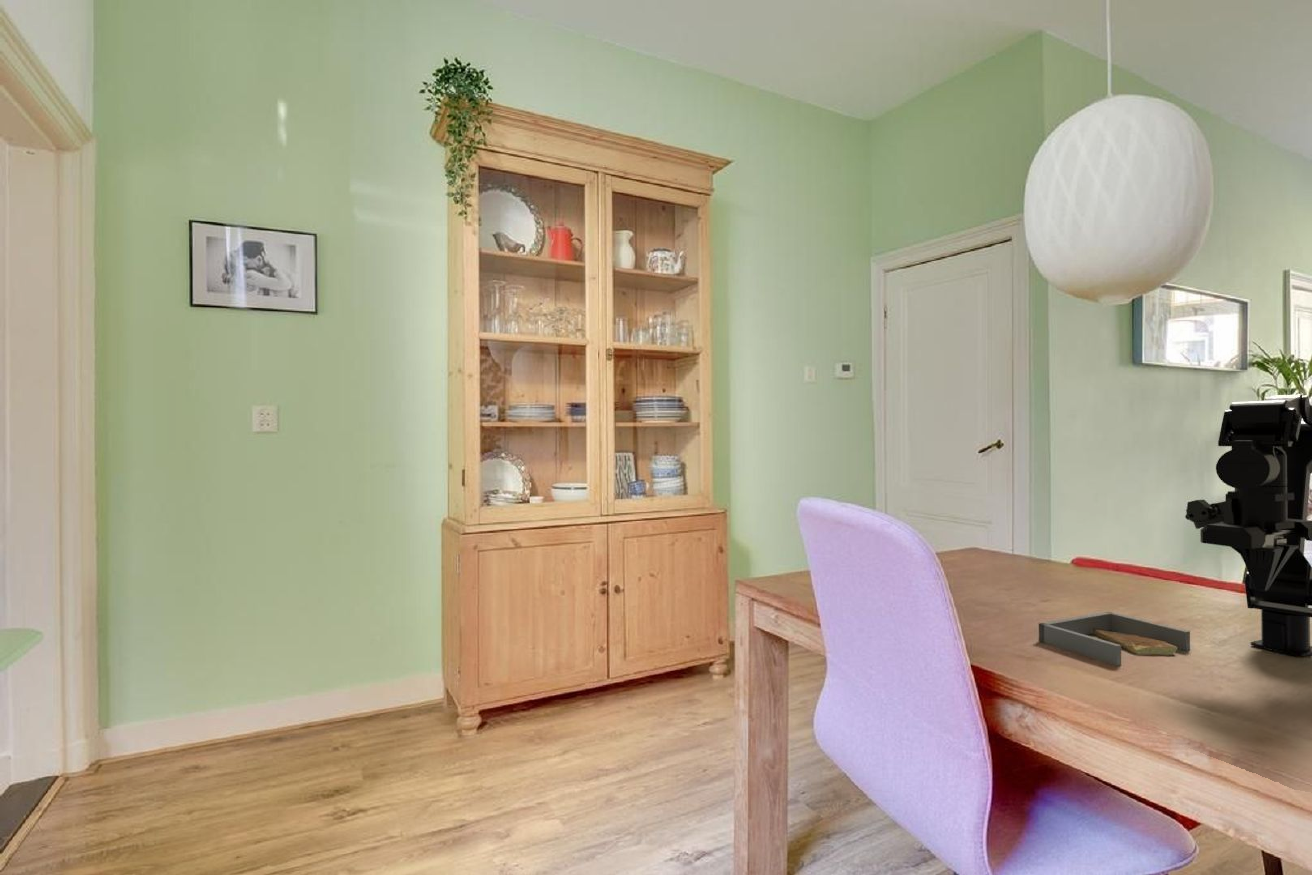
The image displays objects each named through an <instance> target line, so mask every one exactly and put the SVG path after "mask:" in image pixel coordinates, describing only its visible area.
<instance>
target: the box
mask: <svg viewBox="0 0 1312 875" xmlns="http://www.w3.org/2000/svg"><path fill="white" fill-rule="evenodd" d="M1093 629H1098V630H1105V631H1111V632H1118V633H1125V634H1131V635H1137V636H1142V637H1147V638H1153V639H1157V640H1162V641H1165V642H1166V643H1168V644H1171V645H1173V646H1176V647H1177V649H1180V650H1183V651H1190V650H1191V631H1190V630H1186V629H1181V628H1178V627H1174V626H1169V625H1164V624H1161V623H1157V622H1152V621H1148V620H1145V619H1140V618H1136V617H1132V616H1129V615H1124V614H1119V613H1115V612H1111V611H1106V612H1105V611H1104V612H1100V613H1099V612H1098V613H1093V614H1087V615H1081V616H1074V617H1068V618H1064V619H1059V620H1058V619H1056V620H1052V621H1051V620H1050V621H1046V622H1041V623H1040V622H1039V623H1038V641H1039V642H1041V643H1044V644H1047V645H1050V646H1053V647H1057V648H1061V649H1063V650H1067V651H1070V652H1072V653H1075V654H1079V655H1081V656H1085V657H1088V658H1092V659H1094V660H1098V661H1101V662H1105V663H1107V664H1110V665H1114V666H1121V665H1122V646H1121V645H1119V644H1115V643H1113V642H1111V641H1109V640H1106V639H1100V638H1097V637H1093V636H1090V635H1093V634H1096V633H1095V631H1094V630H1093Z"/></svg>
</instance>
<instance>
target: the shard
mask: <svg viewBox="0 0 1312 875" xmlns="http://www.w3.org/2000/svg"><path fill="white" fill-rule="evenodd" d="M1093 630H1094V631H1095V633H1094V634H1095V636H1098V637H1100V638H1102V639H1103V640H1105V641H1108V642H1112V643H1115V644H1119V645H1121V648H1124V649H1125V650H1128V651H1129V652H1131V653H1132V654H1135V655H1137V656H1139V655H1141V656H1143V655H1161V656H1162V655H1166V656H1167V655H1168V656H1169V655H1170V656H1172V655H1174V654H1175V653H1176V652H1177V650H1178V648H1177V647H1176V646H1173V645H1171V644H1168V643H1166V642H1165V641H1162V640H1157V639H1153V638H1147V637H1142V636H1137V635H1131V634H1125V633H1119V632H1115V631H1112V630H1110V631H1105V630H1098V629H1093Z"/></svg>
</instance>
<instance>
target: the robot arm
mask: <svg viewBox="0 0 1312 875" xmlns="http://www.w3.org/2000/svg"><path fill="white" fill-rule="evenodd" d="M1302 420H1303V421H1302ZM1218 436H1219V437H1218V442H1217V446H1218V447H1231V449H1230V450H1228V451H1227V452H1225V453H1223V454H1222V455H1221V456H1219V458H1218V460H1217V462H1216V464H1215V471H1216V474H1217V476H1218V478H1219V479H1220V480H1221V482H1222V483H1224V484H1226V485H1227V486H1228V487H1231V488H1234V490H1230V491H1227V493H1225V501H1220V502H1217V503H1216V502H1213V503H1209V502H1207V501H1206V500H1205V499H1194V500H1191V501H1188V502H1187V503H1186V504H1187V506H1186V509H1185V511H1186V514H1185V519H1186V520H1188V521H1190V522H1192V523H1193V525H1194V527H1195V529H1196V530H1199V529H1200V531H1199V532H1200V535H1199V536H1200V543H1202V544H1206V545H1207V544H1208V545H1216V546H1223V547H1229V548H1231V549H1233V550H1234V551H1236V552H1237V553H1238V554H1239V555H1240V556H1241V559H1242V561H1243V563H1244V565H1245V567H1246V569H1247V571H1246V573H1245V579H1244V586H1245V589H1244V590H1245V597H1246V604H1247V609H1250V610H1251V609H1252V610H1253V609H1255V610H1260V611H1261V612H1260V616H1261V617H1260V618H1261V620H1260V621H1261V623H1260V624H1261V625H1260V627H1261V629H1260V630H1261V639H1259V640H1253V641H1250V645H1251V646H1254V647H1256V648H1257V647H1258V648H1261V649H1265V650H1270V651H1274V652H1278V653H1282V654H1287V655H1290V656H1296V657H1306V656H1309V655H1312V645H1311V618H1312V565H1311V563H1310V561H1308V559H1307V558H1306V556H1305V555H1304V554H1305V542H1306V541H1308V542H1312V520H1307V518H1308V507H1309V506H1308V505H1309V496H1310V486H1311V484H1310V482H1311V474H1312V405H1311V402H1310V399H1309V396H1308V395H1303V394H1300V393H1299V394H1281V395H1280V394H1279V395H1271V396H1267V397H1265V398H1264V400H1257V401H1256V400H1255V401H1233V402H1231V403H1230V405H1229V409H1225V410H1224V412H1223V417H1222V421H1221V427H1220V432H1219V435H1218Z"/></svg>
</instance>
